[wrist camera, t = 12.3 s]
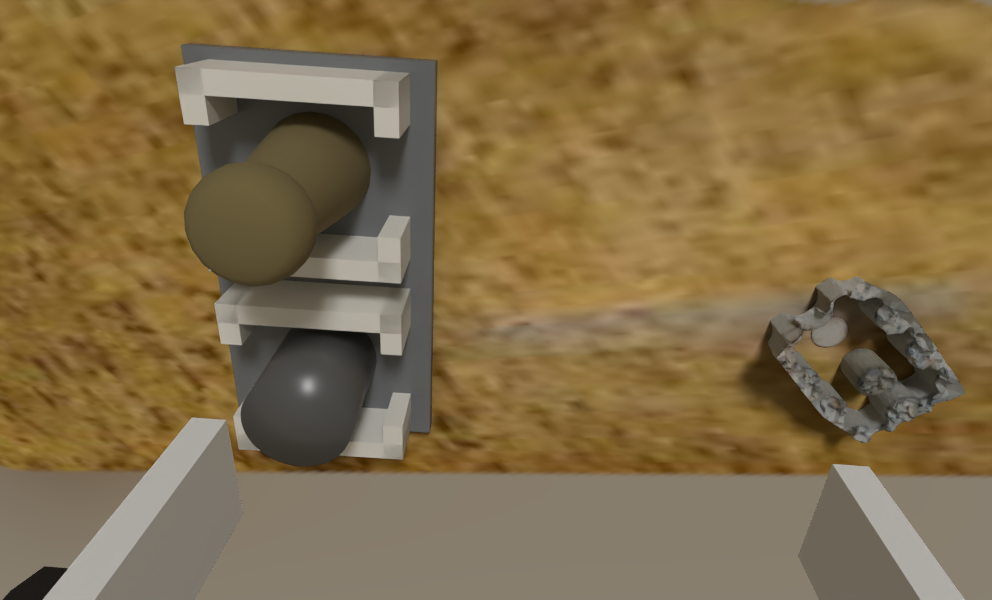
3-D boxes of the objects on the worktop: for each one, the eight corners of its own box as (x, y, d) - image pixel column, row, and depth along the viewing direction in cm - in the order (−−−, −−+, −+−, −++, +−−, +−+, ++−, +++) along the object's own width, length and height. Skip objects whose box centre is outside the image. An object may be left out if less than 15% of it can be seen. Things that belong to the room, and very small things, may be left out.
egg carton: (747, 325, 39) (771, 360, 36) (855, 252, 37) (893, 281, 33) (832, 424, 42) (862, 465, 39) (937, 363, 40) (979, 401, 36)
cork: (290, 231, 36) (205, 323, 26) (242, 130, 33) (127, 189, 23) (387, 203, 35) (336, 287, 25) (345, 96, 32) (271, 144, 22)
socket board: (437, 60, 32) (415, 80, 25) (431, 423, 43) (415, 509, 36) (190, 43, 32) (97, 58, 25) (247, 411, 43) (194, 495, 36)
